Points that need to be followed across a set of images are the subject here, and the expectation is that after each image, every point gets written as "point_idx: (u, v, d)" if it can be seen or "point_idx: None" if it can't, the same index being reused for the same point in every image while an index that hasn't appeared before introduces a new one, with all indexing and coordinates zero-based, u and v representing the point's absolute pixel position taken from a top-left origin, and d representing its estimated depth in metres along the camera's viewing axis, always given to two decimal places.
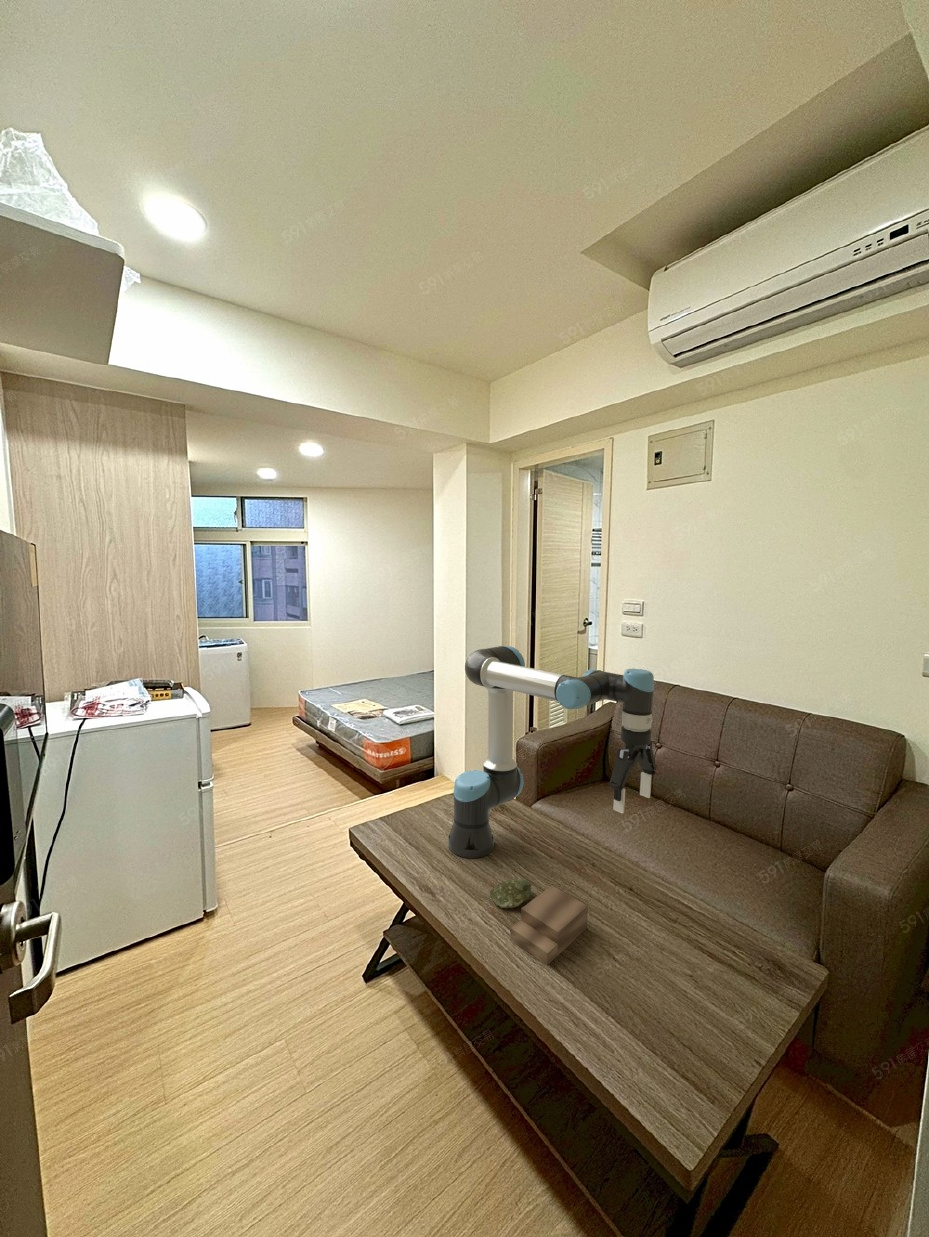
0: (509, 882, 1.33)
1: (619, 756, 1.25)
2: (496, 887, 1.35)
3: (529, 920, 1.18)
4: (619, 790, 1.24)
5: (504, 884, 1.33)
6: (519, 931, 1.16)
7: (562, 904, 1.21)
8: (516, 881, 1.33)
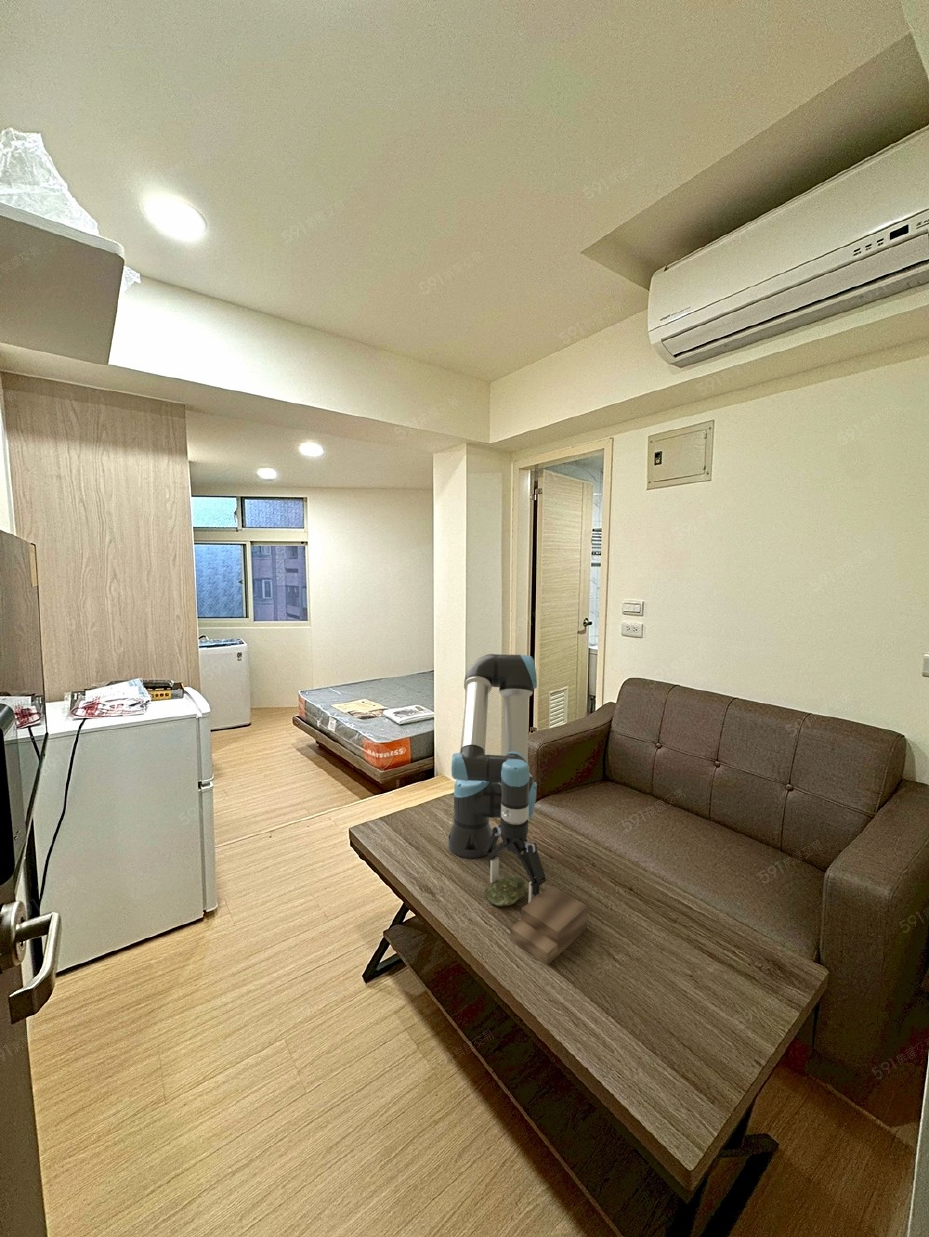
0: (503, 880, 1.34)
1: None
2: (490, 886, 1.35)
3: (529, 920, 1.18)
4: (489, 858, 1.37)
5: (498, 882, 1.34)
6: (519, 931, 1.16)
7: (562, 904, 1.21)
8: (510, 879, 1.34)
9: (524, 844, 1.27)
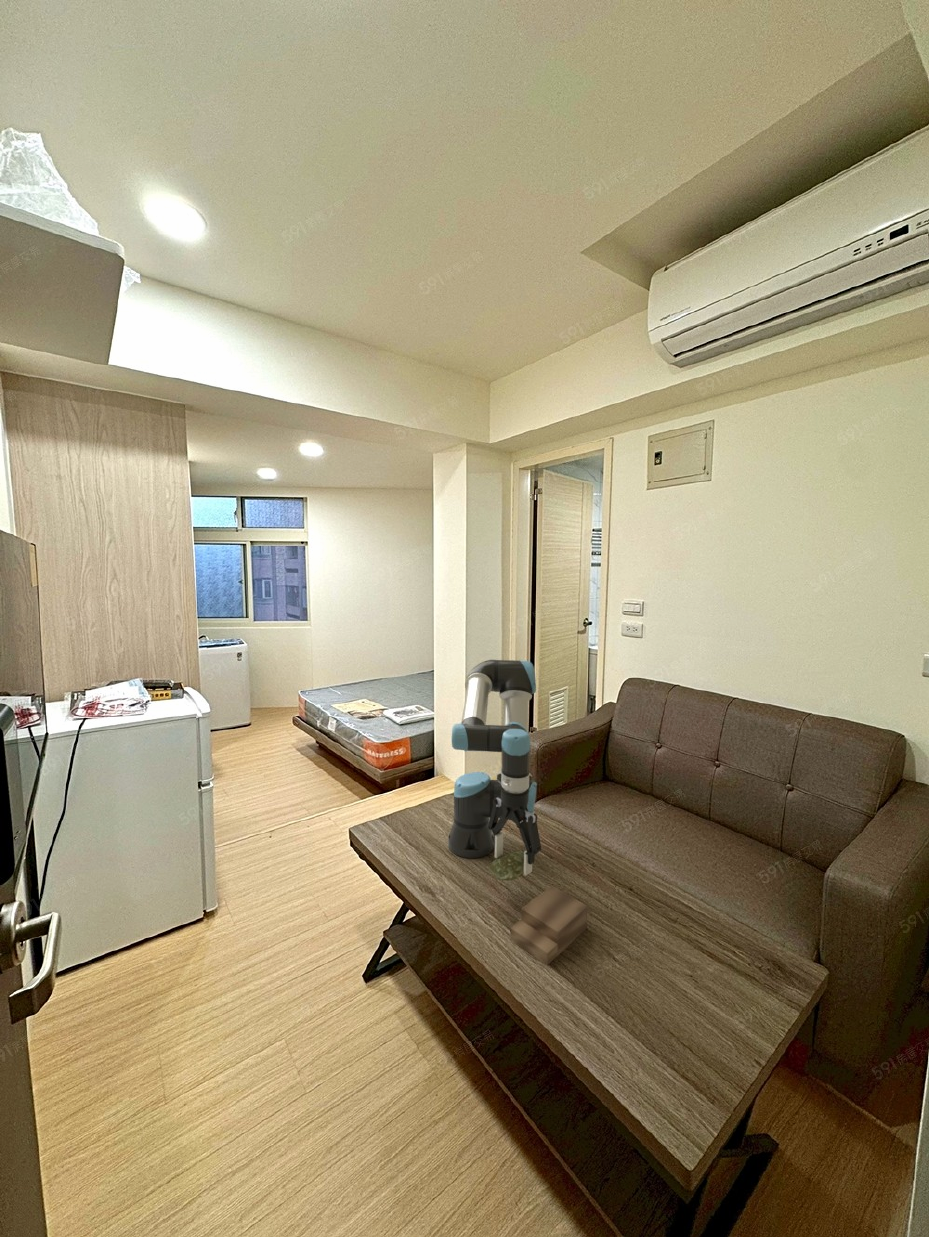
0: (508, 855, 1.33)
1: None
2: (494, 861, 1.34)
3: (529, 920, 1.18)
4: None
5: (503, 857, 1.33)
6: (519, 931, 1.16)
7: (562, 904, 1.21)
8: (515, 854, 1.33)
9: (525, 813, 1.27)
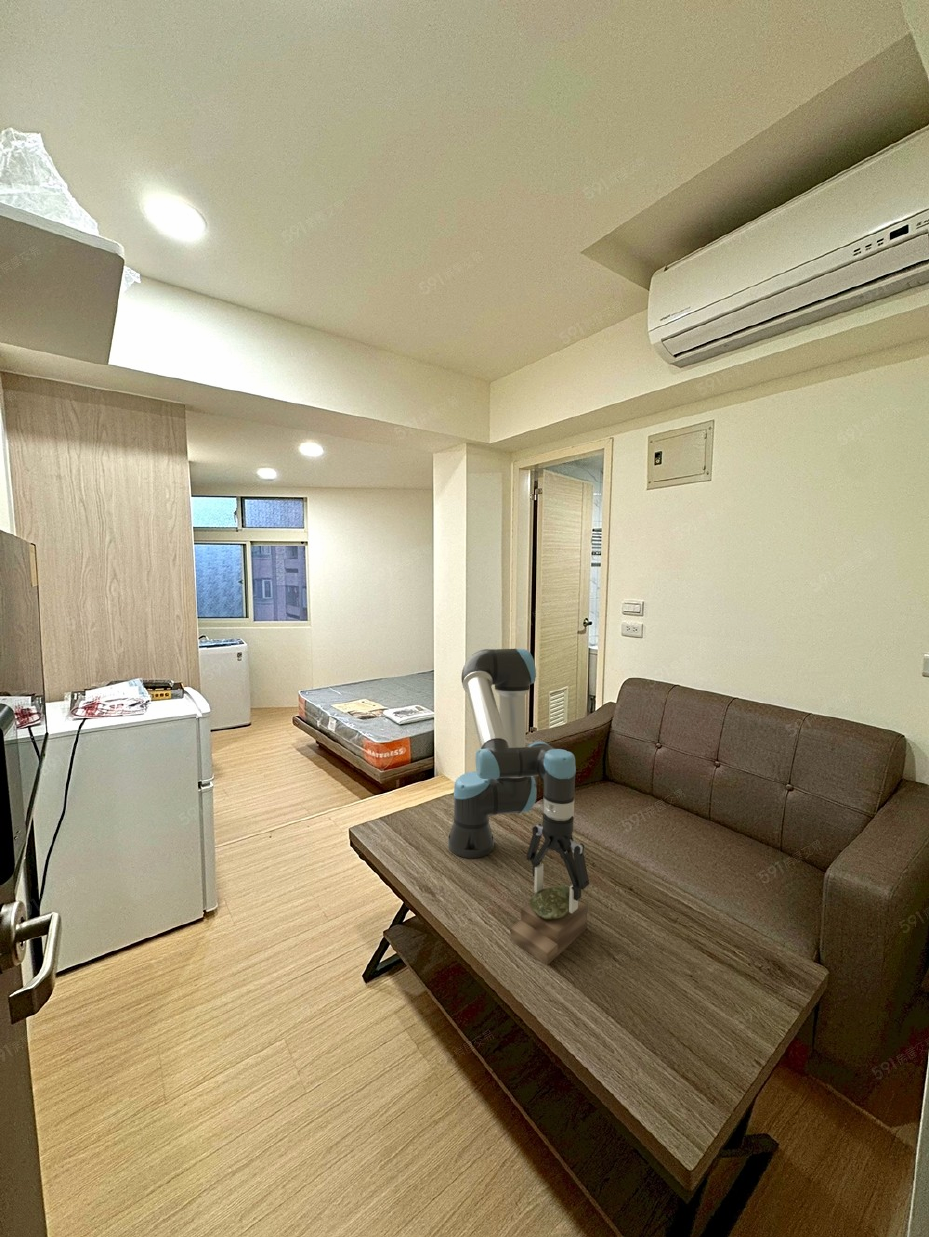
0: (550, 890, 1.21)
1: None
2: (534, 895, 1.22)
3: (529, 920, 1.18)
4: None
5: (544, 892, 1.21)
6: (519, 931, 1.16)
7: None
8: (558, 888, 1.20)
9: (570, 843, 1.15)
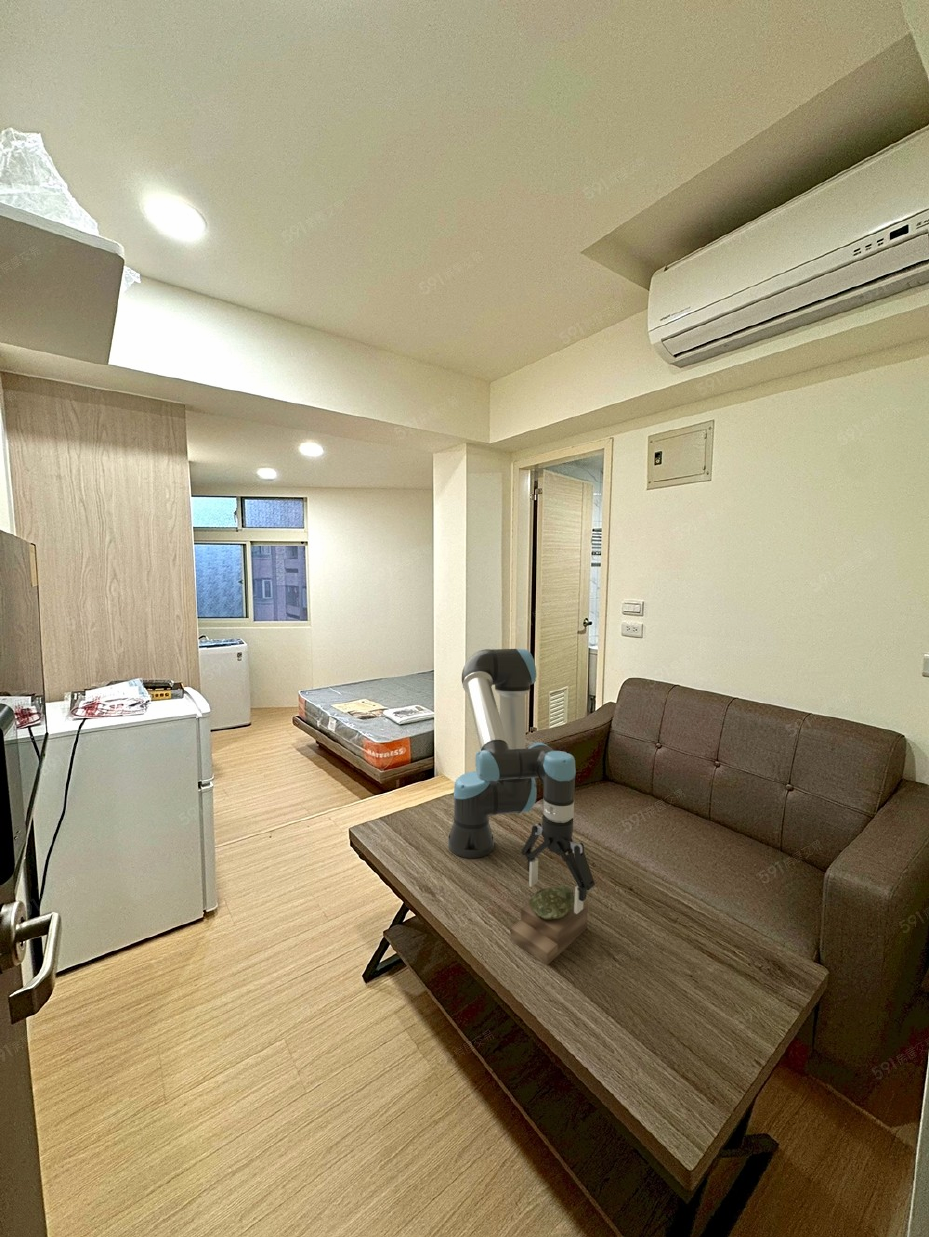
0: (550, 890, 1.21)
1: None
2: (534, 896, 1.22)
3: (529, 920, 1.18)
4: None
5: (544, 892, 1.21)
6: (519, 931, 1.16)
7: None
8: (557, 888, 1.20)
9: (570, 844, 1.15)
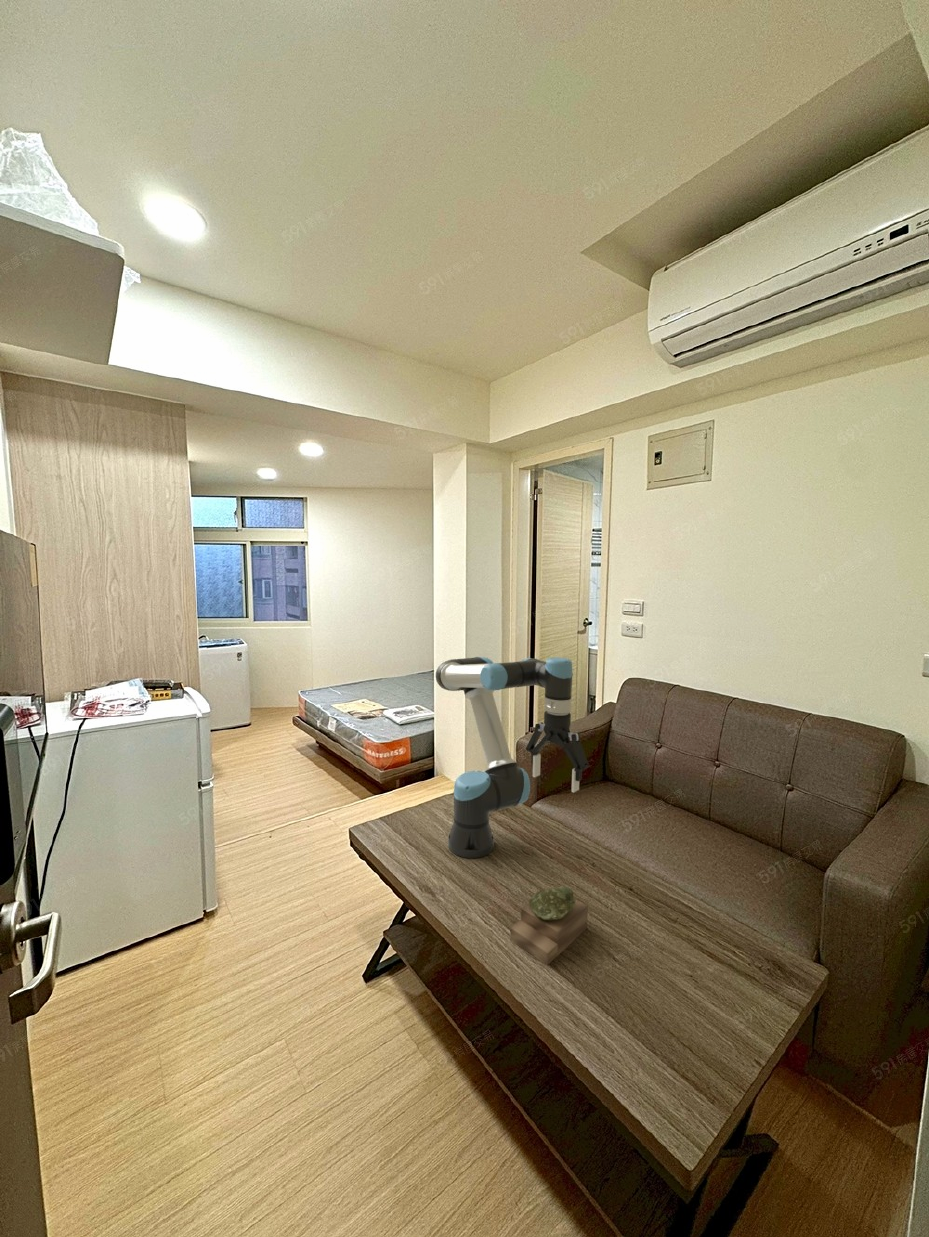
0: (550, 891, 1.20)
1: None
2: (534, 896, 1.22)
3: (529, 920, 1.18)
4: (532, 754, 1.44)
5: (544, 893, 1.20)
6: (519, 931, 1.16)
7: None
8: (557, 889, 1.20)
9: (567, 734, 1.35)
